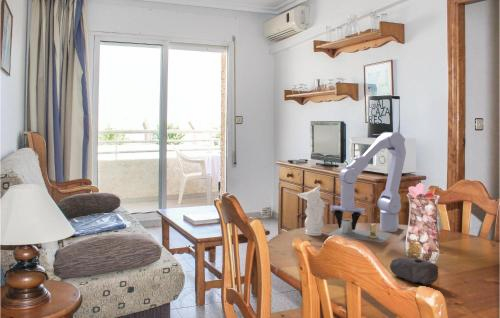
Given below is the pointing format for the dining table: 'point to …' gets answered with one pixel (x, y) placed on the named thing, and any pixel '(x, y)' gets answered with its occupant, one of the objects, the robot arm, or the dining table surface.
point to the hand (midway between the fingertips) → (347, 228)
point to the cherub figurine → (313, 211)
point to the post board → (364, 234)
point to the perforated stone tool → (415, 270)
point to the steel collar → (346, 226)
